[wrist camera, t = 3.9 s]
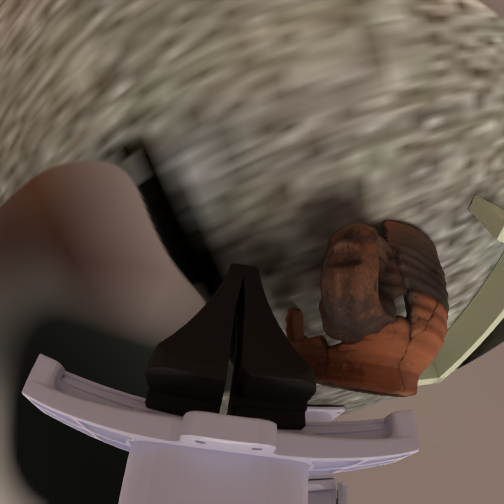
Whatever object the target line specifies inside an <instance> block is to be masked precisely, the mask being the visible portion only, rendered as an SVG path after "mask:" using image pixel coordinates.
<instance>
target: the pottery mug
mask: <svg viewBox="0 0 504 504" xmlns="http://www.w3.org/2000/svg"><path fill="white" fill-rule="evenodd" d="M383 228H384V232H385V234H386V237H385V239H383V238H382V237H380V236H379V235H378V232H377V230H376V229H375V228H374V227H371V226H368V225H365V224H363V223H360V222H359V223H355V224H351V225H345V226H343V227H342V228H340V229H339V230H338V231H337V232H336V233H335V234H334V235H333V236H332V237H331V239H330V240H329V242H328V245H327V247H326V250H325V255H324V259H323V265H322V270H321V297H322V299H321V301H320V304H319V310H320V313H321V318H322V322H323V329H324V331H325V332H326V334H327V335H328V336H330V337H331V338H333V339H337V340H341V341H342V342H341V343H339V344H336V345H333V346H329V345H328V343H327V341H326V339H325V337H324V336H322V335H320V336H315V337H312V338H308V337H307V336H305V335H304V333H303V315H302V313H301V312H300V311H299V310H295V309H292V308H290V309H289V310H288V315H287V317H286V323H287V327H286V333H287V338H288V340H289V341H290V343H291V344H292V345H293V347H294V348H295V349H296V351H297V352H298V353H299V354H300V355H301V357H302V358H303V359H304V360H305V361H306V362H307V363H308V364H309V365H310V366H311V367H312V369H313V373H314V377H315V381H316V383H317V384H321V385H323V386H329V387H333V388H339V389H344V390H349V391H355V392H362V393H368V394H374V395H380V396H393V397H407V396H411V395H415V394H416V393H417V385H418V380H419V376H420V375H421V373H422V372H423V371H424V370H425V369H426V368H428V366H429V365H430V364H431V362H432V361H433V360H434V359H435V358H436V357H437V354H438V352H439V350H440V349H441V348H442V346H443V344H444V337H445V336H446V333H447V326H446V325H447V319H448V311H449V304H448V302H447V301H448V292H447V290H446V282H445V274H444V271H443V270H442V267H441V265H440V262H439V259H438V255H437V251H436V247H435V245H434V244H433V242H432V241H431V240H430V238H429V237H428V236H426V235H425V234H423V233H422V232H421V231H420V230H418V229H416V228H414V227H413V226H410V225H406V224H403V223H399V222H394V221H388V220H387V221H385V222H384V225H383ZM402 294H403V295H404V301H405V308H406V313H407V316H406V317H403V316H395V313H396V306H395V303H394V301H393V299H394V298H396V297H398V296H400V295H402Z"/></svg>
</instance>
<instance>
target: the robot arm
mask: <svg viewBox="0 0 504 504" xmlns="http://www.w3.org/2000/svg"><path fill="white" fill-rule="evenodd" d="M236 313H237V327H236V352H235V360H234V368H233V375H232V383H231V390H230V397H229V404H228V411H227V415H224V414H219V411H220V406H221V402H222V398H223V393H224V388H225V383H226V378H227V369H228V361H229V352H230V344H231V336H232V329H233V325H234V321H235V317H236ZM144 375H145V378H146V381H147V384H148V387H149V390H148V393H147V397H146V399H144V398H141V397H137V396H134V395H130V394H127V393H124V392H121V391H118V390H114V389H112V388H109V387H106V386H103V385H100V384H97V383H95V382H92V381H89V380H87V379H84V378H81V377H79V376H76V375H74V374H71V373H69V372H67V371H65V369H64V368H63V366H62V365H61V364H60V363H59V362H57V361H55V360H53V359H51V358H49V357H46V356H44V355H42V354H40V355H39V357H38V359H37V361H36V363H35V365H34V367H33V369H32V371H31V373H30V375H29V377H28V379H27V382H26V384H25V386H24V388H23V391H22V394H23V395H24V396H25V397H26V398H27V399H29V400H30V401H31V402H32V403H33V404H34V405H36V406H37V407H38V408H39V409H40V410H41V411H43V412H44V413H45V414H47V415H49V416H51V417H53V418H55V419H57V420H59V421H61V422H63V423H65V424H67V425H69V426H71V427H73V428H75V429H77V430H79V431H81V432H83V433H85V434H87V435H89V436H92V437H94V438H96V439H99V440H101V441H103V442H105V443H108V444H110V445H113V446H116V447H118V448H121V449H124V450H126V451H129V452H130V453H129V457H128V461H127V466H126V470H125V475H124V479H123V484H122V489H121V494H120V499H119V504H348V489H347V486H346V485H345V484H343V482H339V483H338V490H337V498H336V479H335V473H337V472H345V471H351V470H357V469H363V468H369V467H374V466H379V465H384V464H389V463H393V462H395V461H398V460H400V459H403V458H405V457H407V456H409V455H412V454H414V453H416V452H418V451H419V450H420V447H419V441H418V435H417V430H416V424H415V419H414V414H413V411H412V410H407V411H399V412H394V413H391V414H390V415H388V416H387V417H386V418H384V419H374V420H361V421H343V422H332V421H333V420H334V419H335V418H336V417H338V416H339V415H340V414H341V413H343V412H344V411H345V407H308V406H307V402H308V401H309V400H310V398H311V397H312V396H313V395H314V394H315V392H316V381H315V377H314V373H313V369H312V367H311V366H310V365H309V364H308V363H307V362H306V361H305V360H304V359H303V358H302V357H301V355H300V354H299V353H298V352H297V351H296V349H295V348H294V347H293V345H292V344H291V343H290V341H289V340H288V338H287V337H286V336H285V334H284V332H283V331H282V329H281V328H280V326H279V324H278V322H277V320H276V319H275V317H274V315H273V313H272V310H271V308H270V306H269V303H268V301H267V298H266V296H265V293H264V290H263V287H262V283H261V279H260V275H259V269H258V268H257V267H252V266H246V265H240V264H234V263H233V264H231V265H230V268H229V270H228V273H227V275H226V276H225V278H224V280H223V282H222V283H221V285H220V286H219V288H218V289H217V291H216V292H215V293H214V295H213V296H212V297H211V299H210V300H209V301H208V302H207V303H206V305H205V306H204V307H203V308H202V309H201V310H200V311H199V312H198V313H197V314H196V315H195V316H194V317H193V318H192V319H191V320H190V321H189V322H188V323H187V324H185V325H184V326H183V327H182V328H180V329H179V330H178V331H177V332H175V333H174V334H173V335H171V336H170V337H168V338H167V339H165V340H164V341H162V342H160V343H159V344H158V345H157V346H156V348H155V349H154V351H153V353H152V354H151V356H150V358H149V360H148V362H147V366H146V369H145V372H144Z"/></svg>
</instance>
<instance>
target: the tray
mask: <svg viewBox="0 0 504 504" xmlns="http://www.w3.org/2000/svg"><path fill="white" fill-rule="evenodd" d="M468 210H469V211H470V212H471V213H472V214H473V215H474V216H475V217H476V218H477V219H478V220H479V221H480V222H481V223H482V224H483V225H484V226H485V227H486V228H487V229H488V231H489V232H490V233H491V234H492V235H493V236H494V237H495V238H496V239H497V240H499V241H501V242H503V243H504V210H503V209H501V208H499V207H498V206H496V205H494V204H492V203H490V202H488V201H487V200H485V199H483V198H481V197H479V196H477V195H475V196H474V199H473V201H472V203H471V205H470V207H469V209H468ZM503 317H504V253H503V255H502V256H501V258H500V260H499V261H498V263H497V264H496V266H495V268H494V269H493V271H492V272H491V274H490V275H489V277H488V278H487V280H486V281H485V283H484V284H483V286H482V287H481V289H480V290H479V291H478V293H477V294H476V296H475V297H474V298H473V300H472V301H471V302H470V304H469V305H468V306H467V308H466V309H465V310H464V311H463V313H462V314H461V315H460V316H459V318H458V319H457V320H456V321H455V323H454V324H453V325H452V326H451V327H450V329H449V330H448V331H447V333H446V336H445V337H444V344H443V346H442V348H441V349H440V350H439V352H438V354H437V357H436V358H435V359H434V360H433V361H432V362H431V364H430V365H429V366H428V368H426V369H425V370H424V371H423V372H422V373H421V375H420V376H419V380H418V385H425V384H434V383H440V382H441V381H442V380H443V379H444V378H445V377H447V376H448V375H449V374H450V373H451V372H452V371H453V370H454V369H456V368H457V367H458V366H459V365H460V364H461V363H462V362H463V361H464V360H465V359H466V358H467V357H468V356H469V355H470V354H471V353H472V352H473V351H474V350H475V349H476V348H477V347H478V346H479V345H480V344H481V343H482V342H483V341H484V339H485V338H486V337H487V336H488V335H489V334H490V333H491V332H492V331H493V329H494V328H495V327H496V326H497V325H498V324H499V322H500V321H501V320H502V319H503Z"/></svg>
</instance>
